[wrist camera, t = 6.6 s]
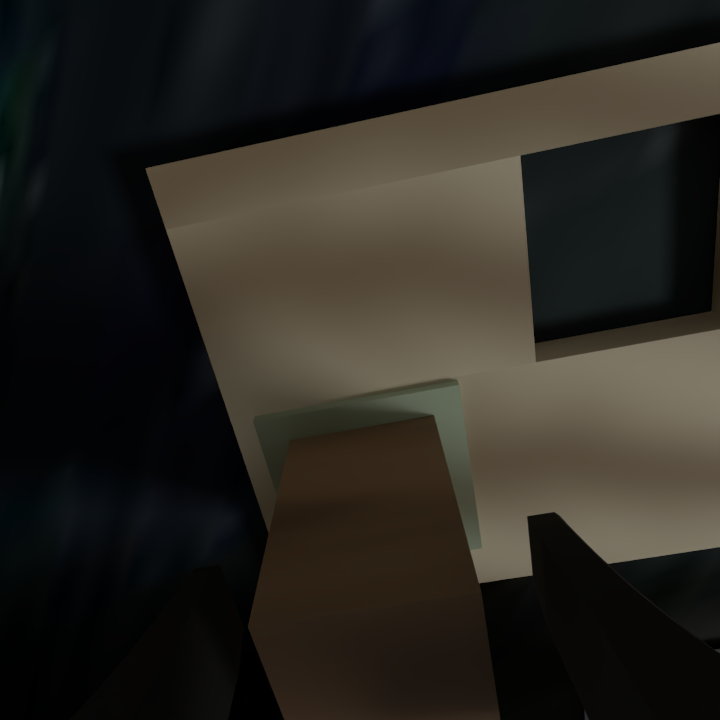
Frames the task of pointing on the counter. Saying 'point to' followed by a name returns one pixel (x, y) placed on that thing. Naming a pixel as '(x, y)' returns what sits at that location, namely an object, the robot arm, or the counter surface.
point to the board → (455, 313)
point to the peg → (372, 583)
